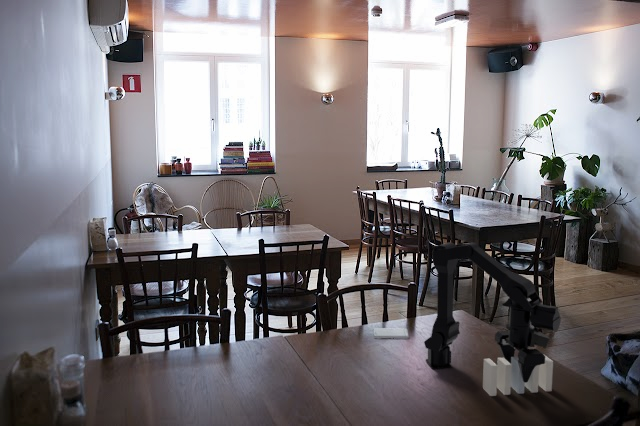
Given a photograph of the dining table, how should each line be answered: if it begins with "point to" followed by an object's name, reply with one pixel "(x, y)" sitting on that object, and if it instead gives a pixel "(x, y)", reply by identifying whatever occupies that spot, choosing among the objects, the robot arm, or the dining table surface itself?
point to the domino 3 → (516, 376)
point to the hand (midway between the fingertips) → (517, 375)
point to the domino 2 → (504, 375)
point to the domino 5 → (546, 374)
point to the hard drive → (391, 333)
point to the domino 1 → (490, 377)
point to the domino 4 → (533, 380)
